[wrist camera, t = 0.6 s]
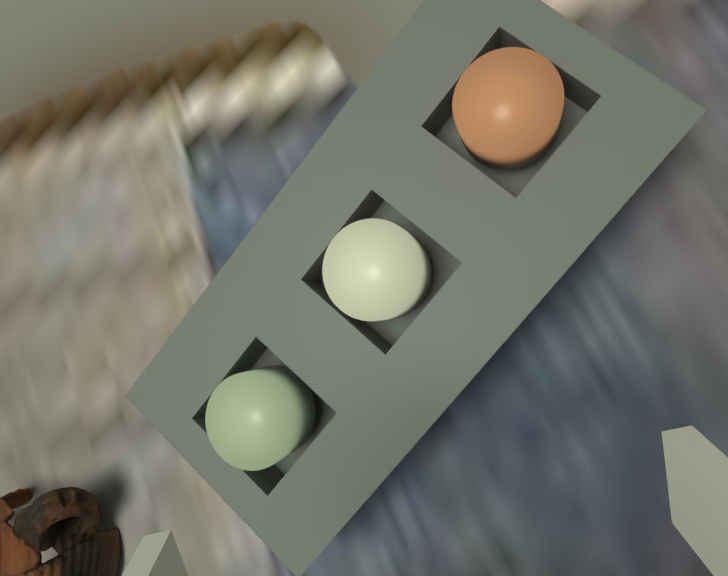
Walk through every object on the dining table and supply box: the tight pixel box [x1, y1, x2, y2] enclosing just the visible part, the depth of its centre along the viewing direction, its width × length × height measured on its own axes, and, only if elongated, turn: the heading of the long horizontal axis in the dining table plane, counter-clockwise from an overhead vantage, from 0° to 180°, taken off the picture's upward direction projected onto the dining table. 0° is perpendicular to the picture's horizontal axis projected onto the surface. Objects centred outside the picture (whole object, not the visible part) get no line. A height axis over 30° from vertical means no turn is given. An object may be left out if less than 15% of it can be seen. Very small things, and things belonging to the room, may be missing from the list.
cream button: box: [322, 218, 432, 321], centre depth 29 cm, size 5×5×3 cm
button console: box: [126, 0, 706, 576], centre depth 32 cm, size 14×30×6 cm, turn 139°
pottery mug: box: [0, 487, 120, 576], centre depth 39 cm, size 12×10×8 cm
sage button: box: [205, 366, 315, 471], centre depth 31 cm, size 5×5×3 cm
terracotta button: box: [452, 47, 564, 170], centre depth 28 cm, size 5×5×3 cm
